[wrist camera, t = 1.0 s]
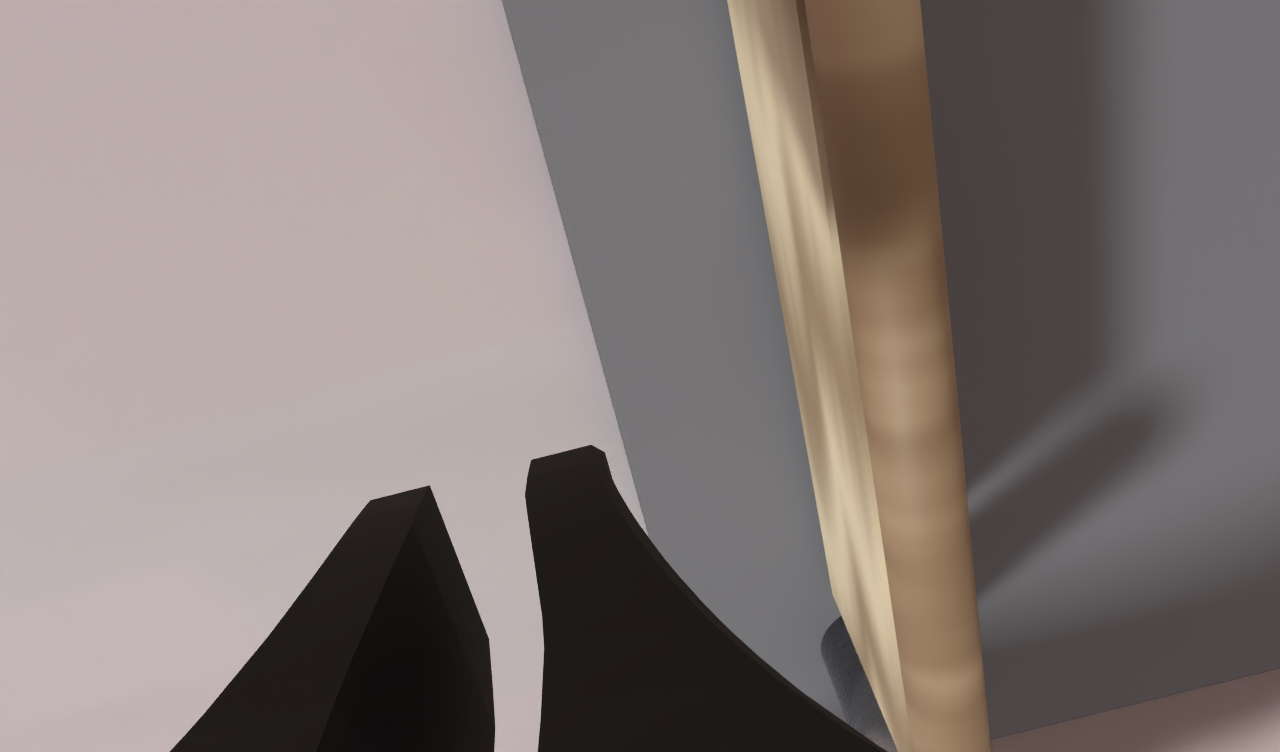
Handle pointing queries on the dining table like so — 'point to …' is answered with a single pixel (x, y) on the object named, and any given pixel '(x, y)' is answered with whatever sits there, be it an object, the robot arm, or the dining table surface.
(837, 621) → the hinge post
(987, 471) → the mat
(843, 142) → the gate
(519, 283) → the dining table surface
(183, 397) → the dining table surface
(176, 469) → the dining table surface
